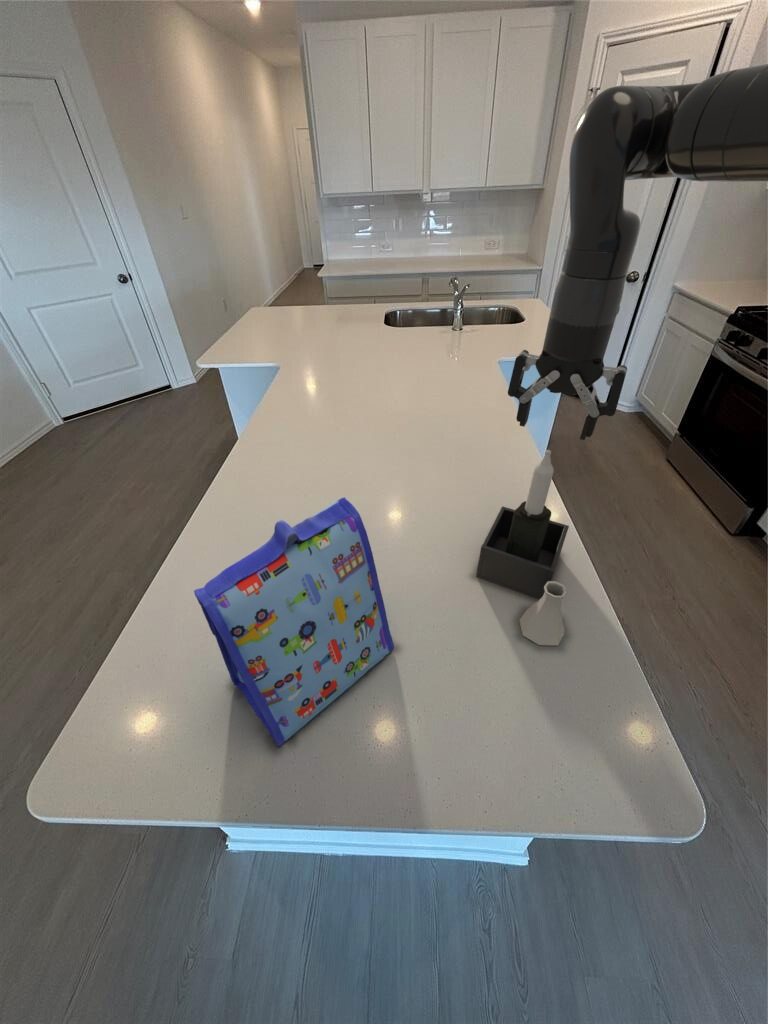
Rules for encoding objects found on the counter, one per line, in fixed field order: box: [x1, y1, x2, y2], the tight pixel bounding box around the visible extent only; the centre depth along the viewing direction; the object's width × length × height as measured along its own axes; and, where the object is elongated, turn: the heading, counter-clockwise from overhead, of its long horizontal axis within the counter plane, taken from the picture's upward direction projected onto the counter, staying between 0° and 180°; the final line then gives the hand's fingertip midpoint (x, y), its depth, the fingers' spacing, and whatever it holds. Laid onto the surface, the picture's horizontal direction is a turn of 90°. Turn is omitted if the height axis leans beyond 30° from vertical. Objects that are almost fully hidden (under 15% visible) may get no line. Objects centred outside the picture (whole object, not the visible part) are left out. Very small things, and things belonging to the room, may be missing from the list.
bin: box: [475, 505, 570, 600], centre depth 80 cm, size 12×12×8 cm
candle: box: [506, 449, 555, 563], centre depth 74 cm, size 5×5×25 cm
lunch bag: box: [193, 497, 395, 747], centre depth 59 cm, size 22×14×29 cm, turn 133°
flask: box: [518, 580, 567, 647], centre depth 69 cm, size 7×7×10 cm
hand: (552, 430), depth 64 cm, fingers open, 8 cm apart
